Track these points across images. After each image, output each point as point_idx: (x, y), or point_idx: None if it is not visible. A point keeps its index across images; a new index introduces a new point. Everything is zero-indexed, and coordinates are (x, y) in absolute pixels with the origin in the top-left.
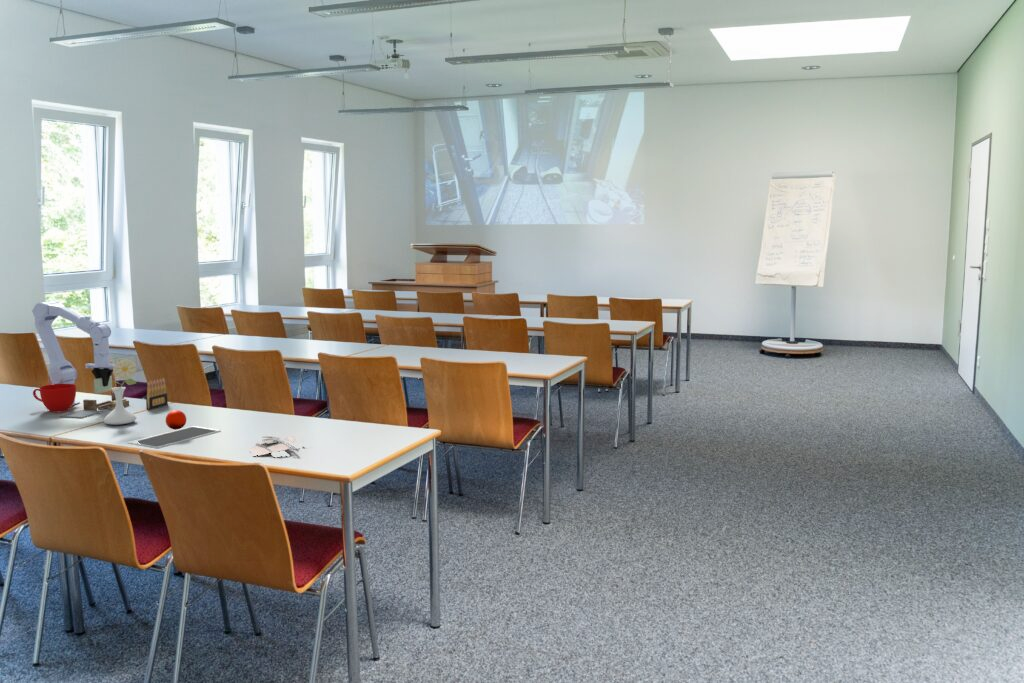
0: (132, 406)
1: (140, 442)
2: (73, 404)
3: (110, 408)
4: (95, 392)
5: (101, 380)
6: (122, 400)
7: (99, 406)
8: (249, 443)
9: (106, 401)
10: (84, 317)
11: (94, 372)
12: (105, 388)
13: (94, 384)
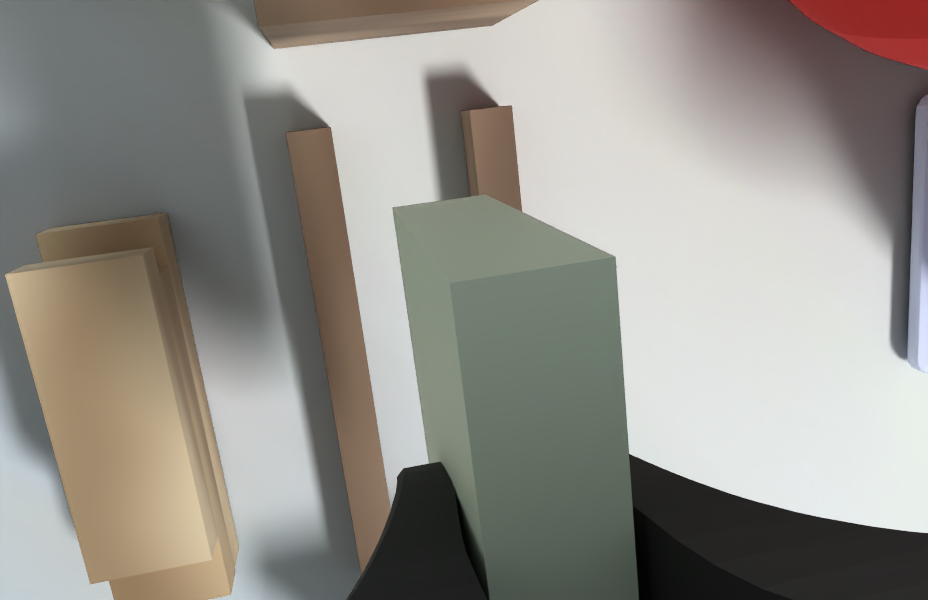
0: (3, 528)
1: None
2: (912, 236)
3: (138, 218)
4: (461, 203)
5: (465, 493)
6: (63, 476)
7: (309, 143)
8: None
9: None
10: None
11: (902, 570)
12: None
13: (529, 228)
